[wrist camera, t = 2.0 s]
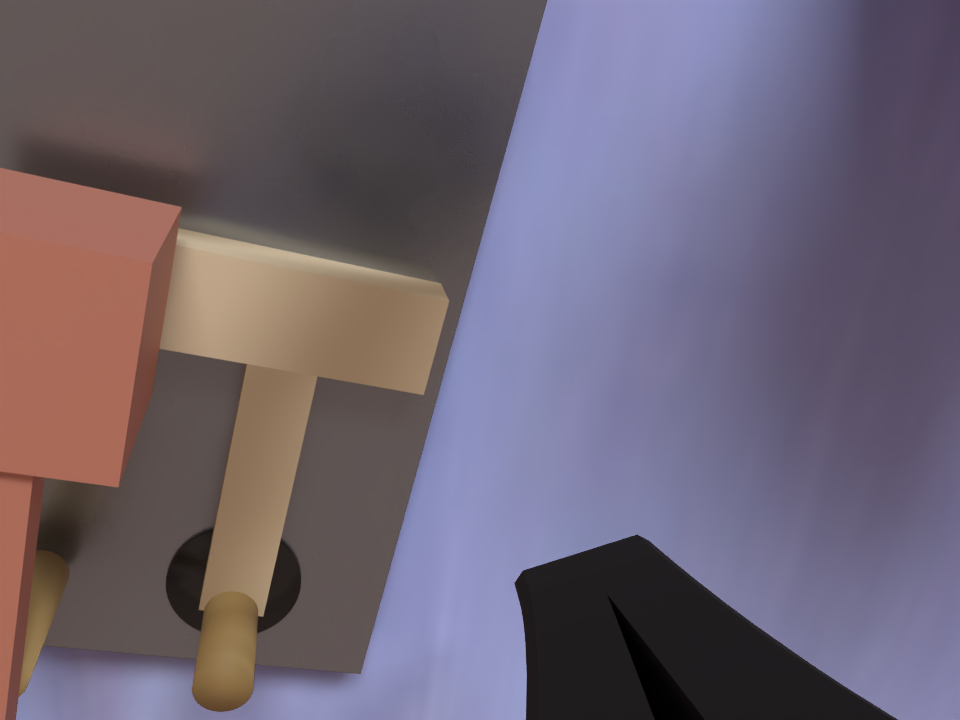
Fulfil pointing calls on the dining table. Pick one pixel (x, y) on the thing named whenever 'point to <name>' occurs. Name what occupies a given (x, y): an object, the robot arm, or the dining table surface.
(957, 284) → the dining table surface
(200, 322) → the beam
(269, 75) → the bolt plate
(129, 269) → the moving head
